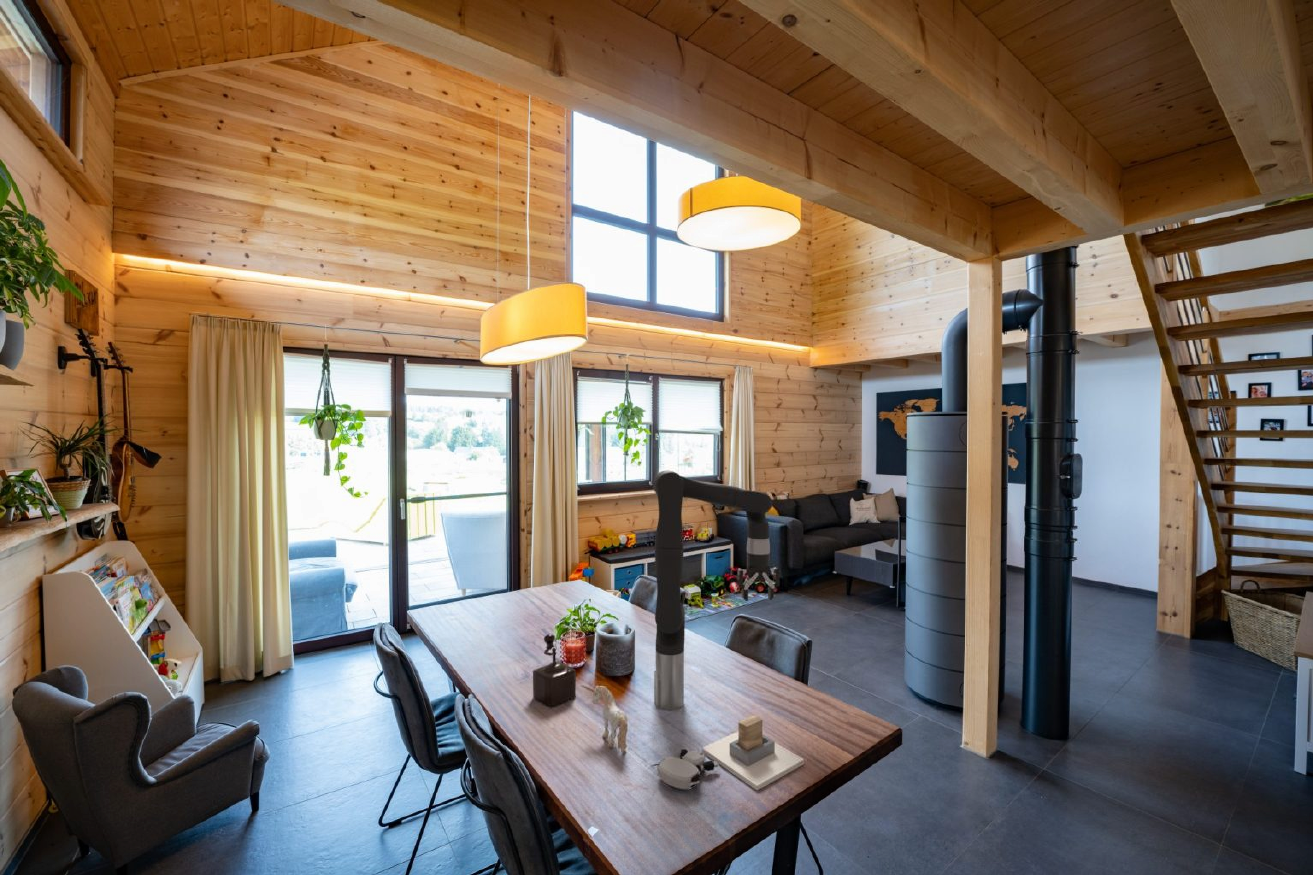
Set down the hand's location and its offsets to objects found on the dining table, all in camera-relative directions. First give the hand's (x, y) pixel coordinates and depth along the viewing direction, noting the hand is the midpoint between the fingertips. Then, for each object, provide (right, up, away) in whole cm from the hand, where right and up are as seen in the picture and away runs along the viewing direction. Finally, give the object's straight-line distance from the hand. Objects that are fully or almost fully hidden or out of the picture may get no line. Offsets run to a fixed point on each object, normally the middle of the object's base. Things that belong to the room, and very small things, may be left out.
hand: (758, 599), depth 180 cm
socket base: (-8, -32, -35) cm, 48 cm away
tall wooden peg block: (-9, -31, -35) cm, 48 cm away
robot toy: (-26, -32, -43) cm, 60 cm away
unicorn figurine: (-49, -32, -28) cm, 65 cm away
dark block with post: (-69, -32, 0) cm, 76 cm away
